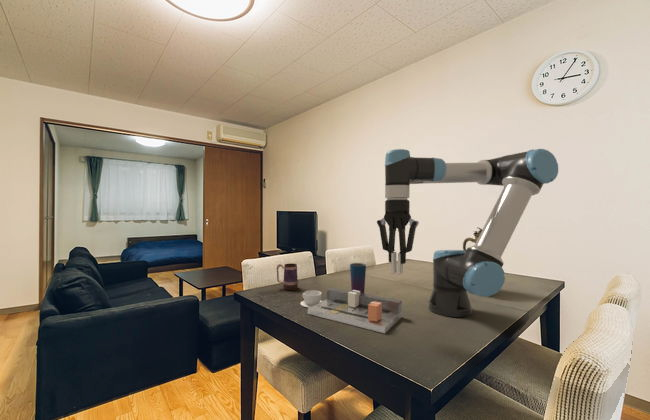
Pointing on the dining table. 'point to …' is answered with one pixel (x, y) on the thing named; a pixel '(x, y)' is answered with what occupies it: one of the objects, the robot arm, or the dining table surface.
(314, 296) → the teacup
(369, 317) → the block
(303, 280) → the dining table surface
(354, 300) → the fader
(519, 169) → the robot arm
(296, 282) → the mug
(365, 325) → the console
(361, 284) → the cup
